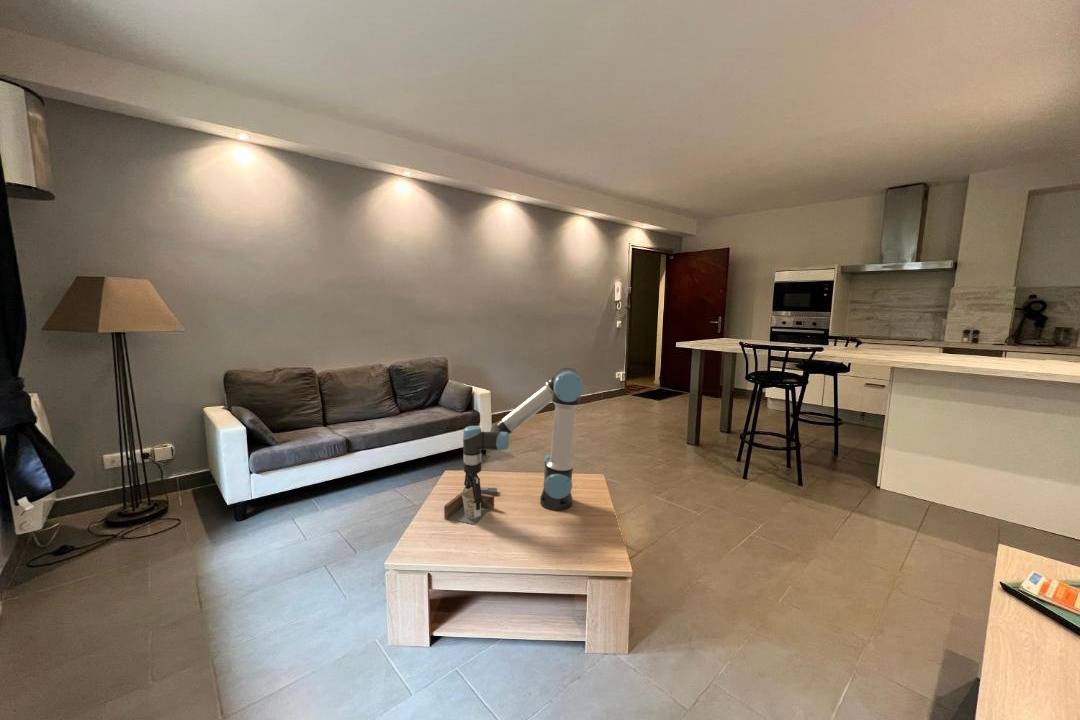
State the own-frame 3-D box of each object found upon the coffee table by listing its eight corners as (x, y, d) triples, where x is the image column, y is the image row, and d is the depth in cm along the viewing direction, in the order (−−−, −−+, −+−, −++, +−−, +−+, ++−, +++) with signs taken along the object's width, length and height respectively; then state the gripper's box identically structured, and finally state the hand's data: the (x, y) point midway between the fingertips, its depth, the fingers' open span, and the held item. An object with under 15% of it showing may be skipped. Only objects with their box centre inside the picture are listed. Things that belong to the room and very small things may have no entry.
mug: (459, 519, 181) (459, 497, 180) (469, 506, 193) (469, 485, 192) (478, 521, 180) (478, 499, 178) (487, 507, 192) (487, 486, 191)
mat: (490, 509, 191) (490, 508, 191) (474, 524, 178) (474, 524, 178) (465, 504, 195) (465, 504, 195) (448, 519, 182) (448, 518, 182)
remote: (497, 491, 210) (496, 486, 209) (495, 495, 205) (495, 490, 205) (464, 491, 210) (464, 486, 210) (463, 495, 206) (462, 490, 205)
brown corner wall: (494, 508, 192) (494, 495, 191) (476, 525, 177) (476, 512, 176) (464, 502, 198) (464, 490, 197) (444, 519, 182) (444, 505, 182)
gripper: (489, 471, 173) (490, 520, 175) (473, 452, 195) (473, 495, 198) (471, 474, 169) (472, 524, 172) (457, 454, 192) (457, 498, 195)
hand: (473, 509), depth 185 cm, fingers open, 13 cm apart
